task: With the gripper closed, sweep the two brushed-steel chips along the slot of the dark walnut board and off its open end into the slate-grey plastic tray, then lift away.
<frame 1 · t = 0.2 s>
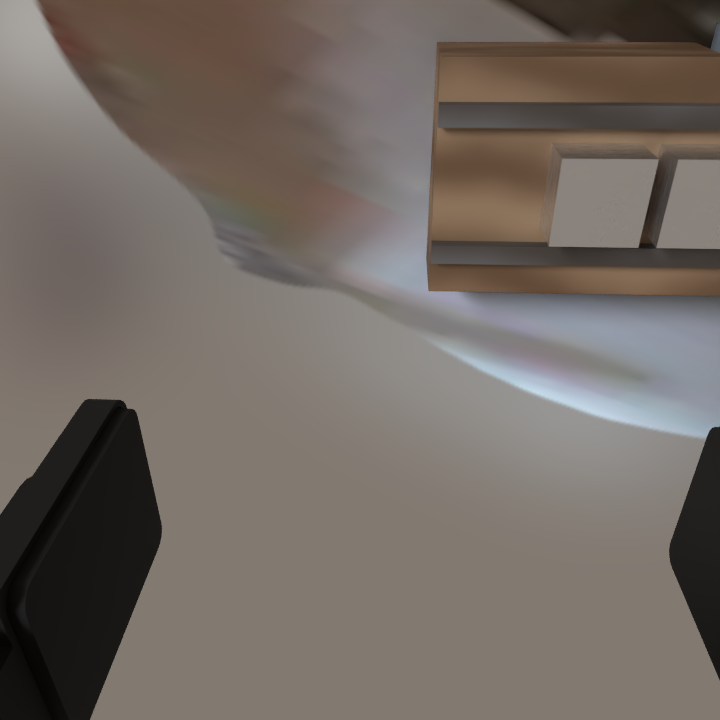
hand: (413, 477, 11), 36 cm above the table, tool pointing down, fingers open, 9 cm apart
slot board: (586, 161, 44), on the table
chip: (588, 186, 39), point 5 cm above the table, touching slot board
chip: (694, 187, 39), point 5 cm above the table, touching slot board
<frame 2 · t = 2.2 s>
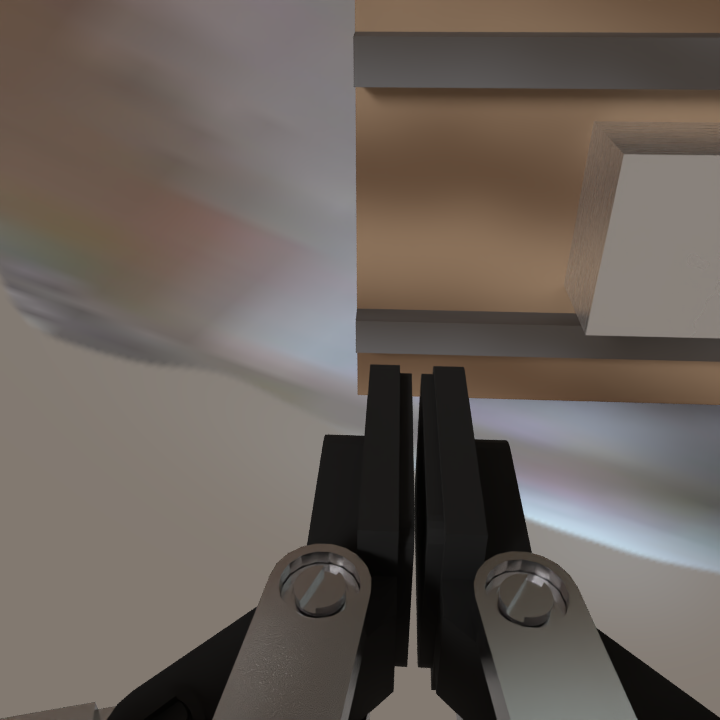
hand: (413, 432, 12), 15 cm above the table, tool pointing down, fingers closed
slot board: (647, 158, 24), on the table
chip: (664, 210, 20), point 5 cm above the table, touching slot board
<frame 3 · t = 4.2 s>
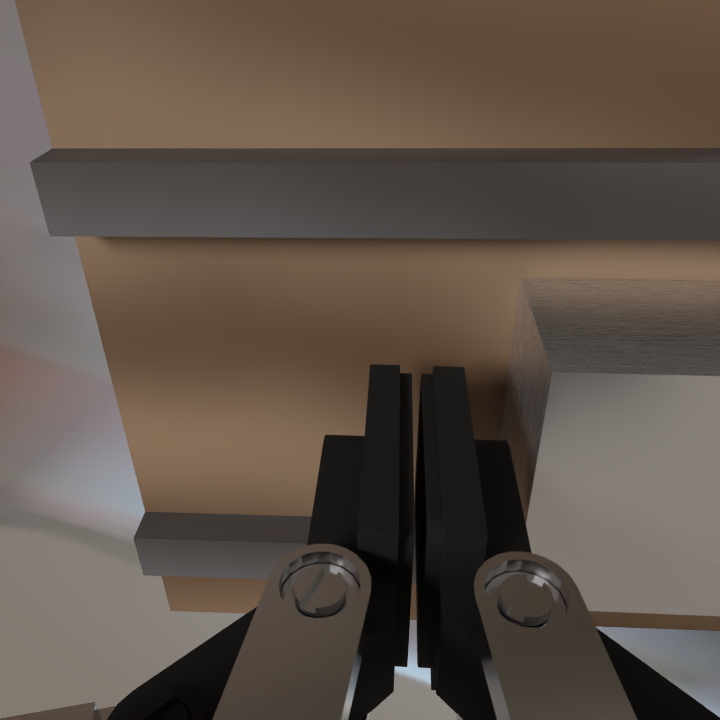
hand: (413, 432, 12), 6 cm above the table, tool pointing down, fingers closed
slot board: (567, 281, 17), on the table
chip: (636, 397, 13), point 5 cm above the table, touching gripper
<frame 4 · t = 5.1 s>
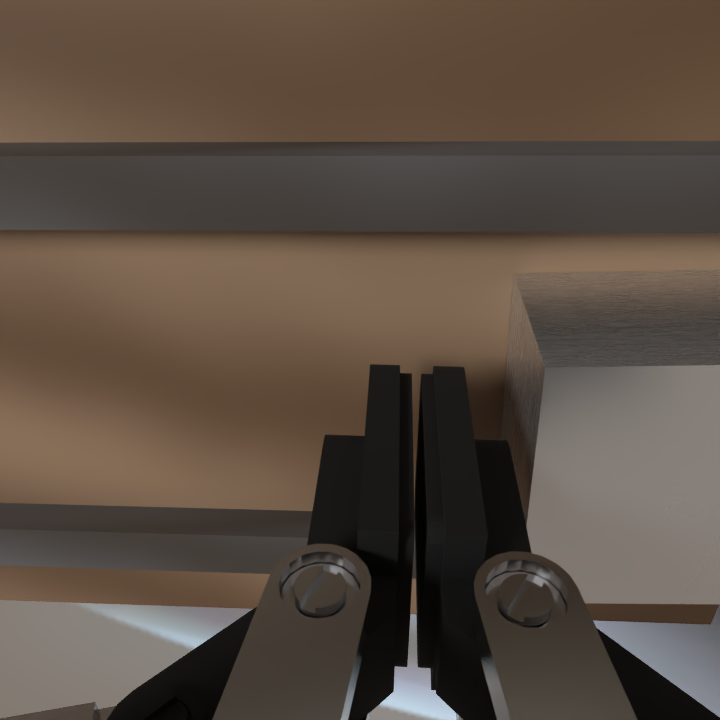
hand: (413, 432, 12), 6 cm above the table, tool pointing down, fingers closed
slot board: (313, 274, 18), on the table
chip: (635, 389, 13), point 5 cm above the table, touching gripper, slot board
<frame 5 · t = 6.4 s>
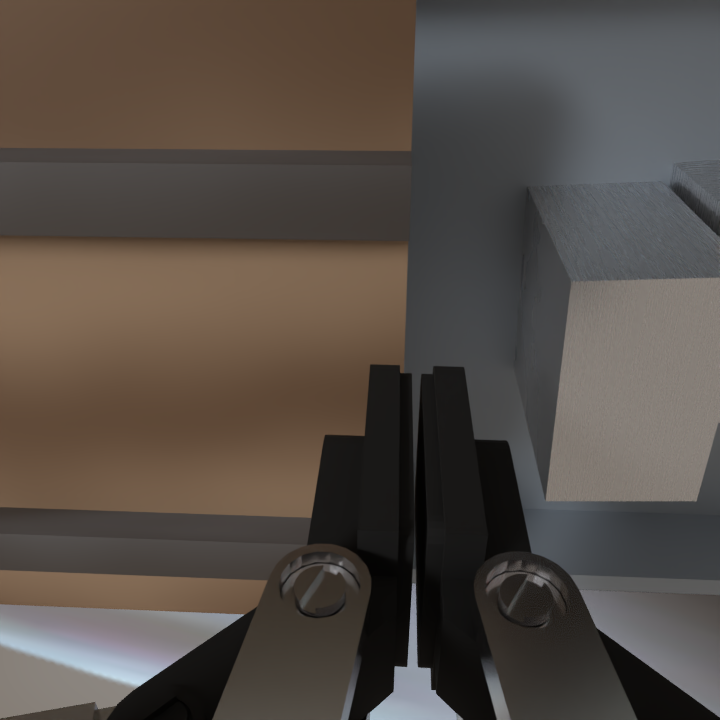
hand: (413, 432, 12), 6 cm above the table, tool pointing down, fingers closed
slot board: (26, 275, 18), on the table
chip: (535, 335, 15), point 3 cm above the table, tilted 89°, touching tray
tray: (599, 285, 17), on the table
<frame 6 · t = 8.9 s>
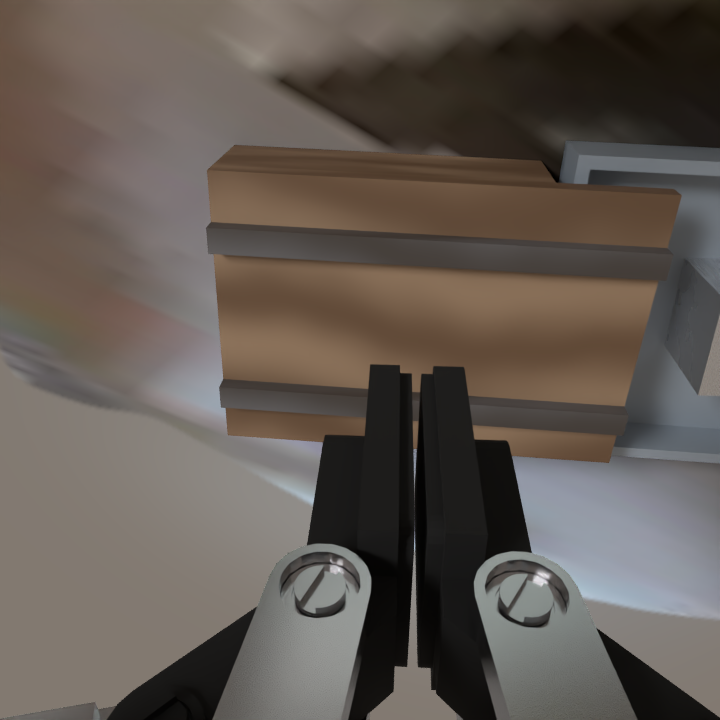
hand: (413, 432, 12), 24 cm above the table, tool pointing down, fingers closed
slot board: (425, 287, 36), on the table
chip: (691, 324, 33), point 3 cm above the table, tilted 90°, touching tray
tray: (710, 305, 36), on the table
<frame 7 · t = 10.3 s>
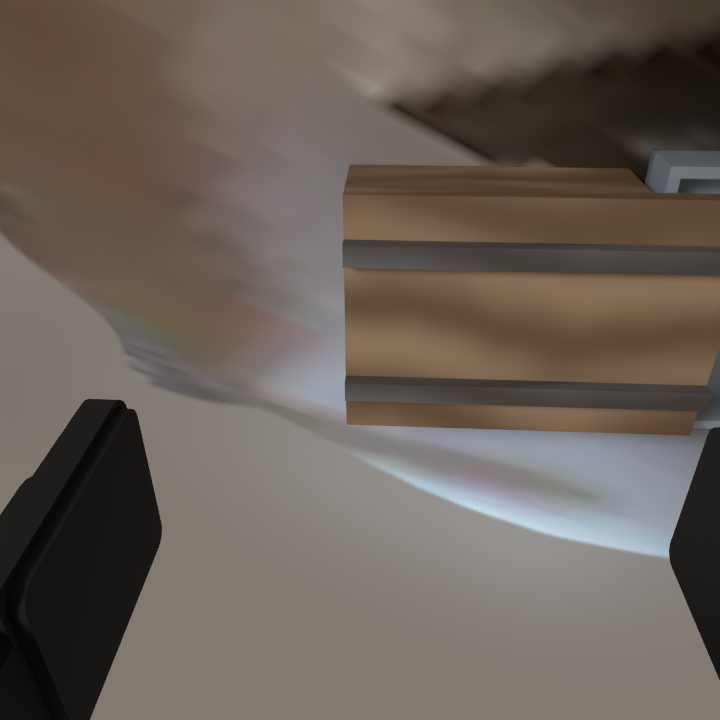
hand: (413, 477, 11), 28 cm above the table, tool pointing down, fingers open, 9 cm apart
slot board: (518, 284, 40), on the table
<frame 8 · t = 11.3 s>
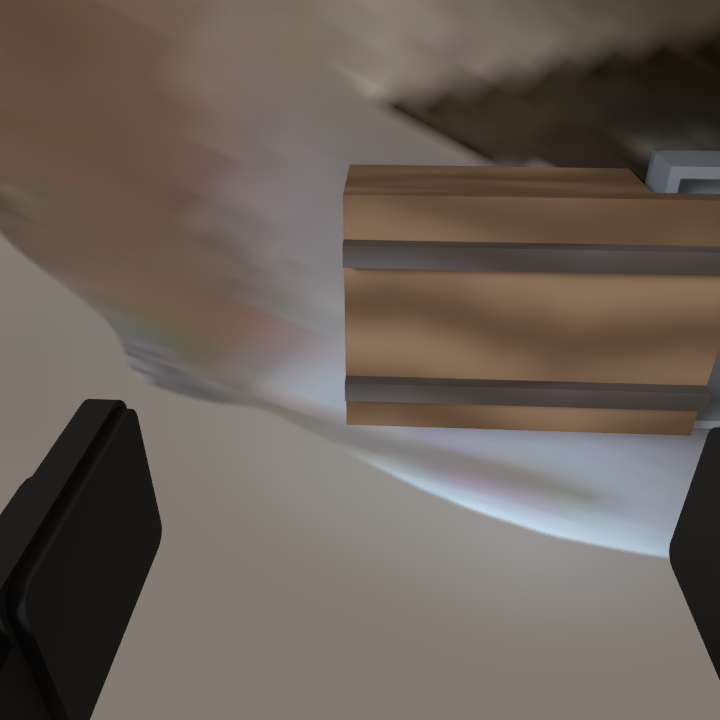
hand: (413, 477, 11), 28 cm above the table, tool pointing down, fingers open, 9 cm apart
slot board: (518, 284, 40), on the table
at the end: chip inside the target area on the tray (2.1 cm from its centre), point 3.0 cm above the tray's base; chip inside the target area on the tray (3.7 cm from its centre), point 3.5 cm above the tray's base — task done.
